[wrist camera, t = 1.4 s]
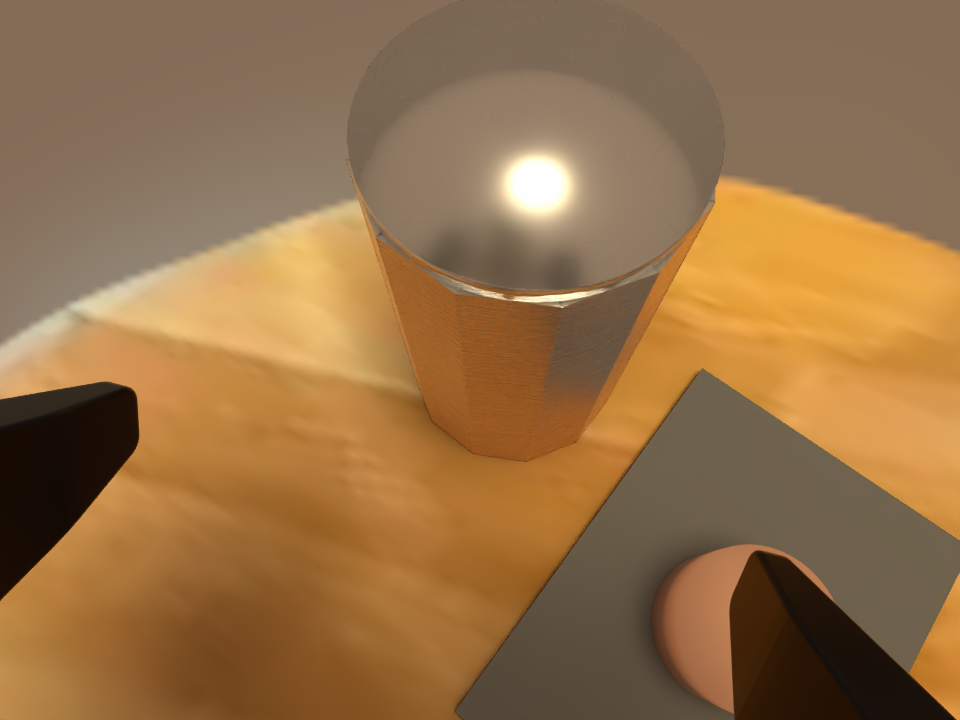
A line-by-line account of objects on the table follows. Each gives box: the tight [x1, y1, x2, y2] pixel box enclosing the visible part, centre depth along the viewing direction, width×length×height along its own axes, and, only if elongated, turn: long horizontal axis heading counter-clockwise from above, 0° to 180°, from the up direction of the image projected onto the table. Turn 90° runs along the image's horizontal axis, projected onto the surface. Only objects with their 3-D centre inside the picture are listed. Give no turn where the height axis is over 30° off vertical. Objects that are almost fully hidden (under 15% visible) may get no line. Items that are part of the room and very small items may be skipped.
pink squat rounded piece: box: [651, 544, 834, 714], centre depth 18 cm, size 4×4×3 cm
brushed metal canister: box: [346, 0, 725, 462], centre depth 18 cm, size 7×7×12 cm
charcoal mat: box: [455, 368, 960, 720], centre depth 20 cm, size 14×10×1 cm
